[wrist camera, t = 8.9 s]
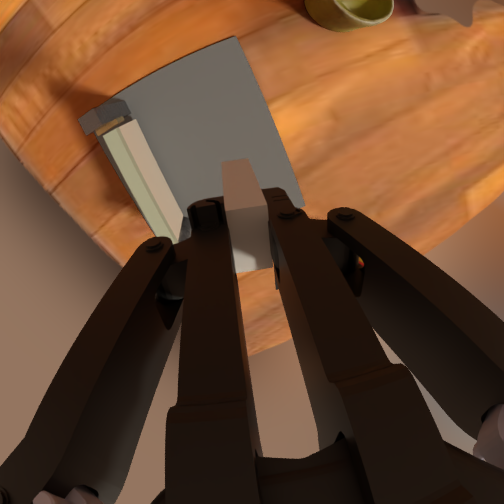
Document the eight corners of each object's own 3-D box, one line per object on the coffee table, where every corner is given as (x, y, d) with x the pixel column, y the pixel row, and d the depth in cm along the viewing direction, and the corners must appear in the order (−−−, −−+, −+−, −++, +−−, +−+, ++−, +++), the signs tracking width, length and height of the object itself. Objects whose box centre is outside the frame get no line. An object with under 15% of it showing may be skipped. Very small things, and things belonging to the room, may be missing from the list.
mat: (85, 115, 31) (84, 116, 31) (235, 36, 28) (235, 36, 28) (173, 260, 45) (172, 261, 45) (305, 204, 42) (305, 205, 42)
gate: (185, 212, 40) (178, 247, 32) (175, 216, 40) (166, 252, 33) (138, 117, 32) (115, 128, 24) (128, 123, 32) (102, 136, 24)
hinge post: (172, 218, 41) (160, 264, 31) (189, 210, 41) (181, 255, 31) (181, 233, 42) (172, 282, 33) (198, 226, 42) (193, 274, 32)
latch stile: (110, 109, 31) (74, 121, 22) (128, 98, 31) (96, 106, 22) (119, 125, 32) (86, 142, 23) (136, 115, 32) (107, 127, 23)
